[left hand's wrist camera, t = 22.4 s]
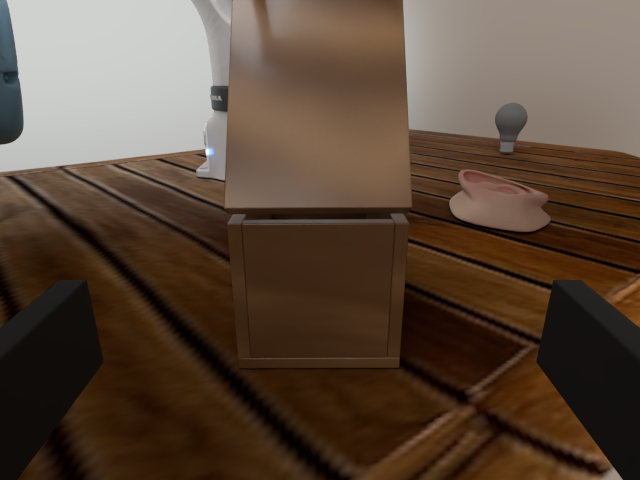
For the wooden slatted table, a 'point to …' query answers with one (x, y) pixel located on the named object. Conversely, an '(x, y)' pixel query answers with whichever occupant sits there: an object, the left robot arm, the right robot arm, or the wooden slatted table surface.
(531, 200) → the anatomical model
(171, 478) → the wooden slatted table surface
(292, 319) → the chest
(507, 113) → the light bulb
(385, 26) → the lid
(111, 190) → the wooden slatted table surface
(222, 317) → the wooden slatted table surface
